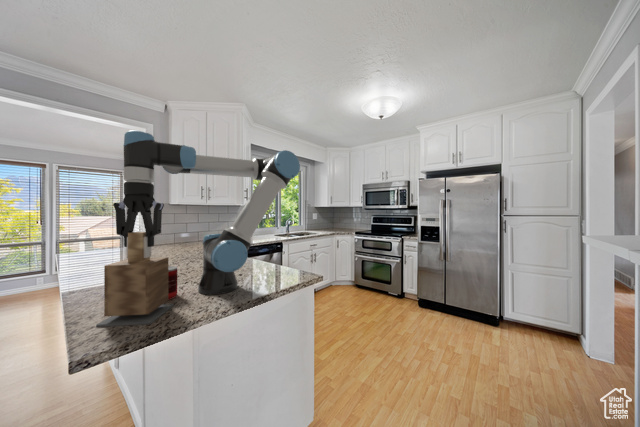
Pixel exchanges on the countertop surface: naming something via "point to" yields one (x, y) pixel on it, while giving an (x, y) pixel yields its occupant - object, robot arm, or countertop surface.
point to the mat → (135, 318)
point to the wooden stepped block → (135, 281)
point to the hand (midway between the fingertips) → (139, 257)
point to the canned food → (172, 282)
